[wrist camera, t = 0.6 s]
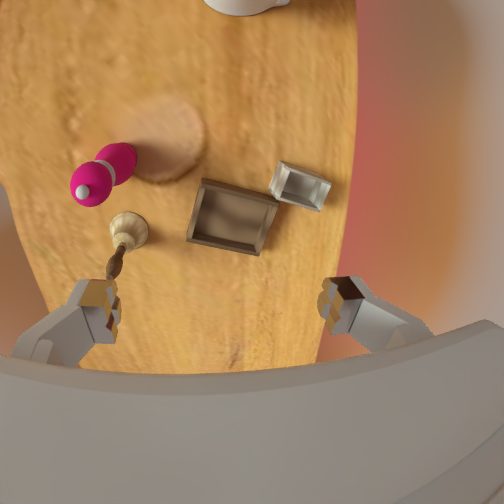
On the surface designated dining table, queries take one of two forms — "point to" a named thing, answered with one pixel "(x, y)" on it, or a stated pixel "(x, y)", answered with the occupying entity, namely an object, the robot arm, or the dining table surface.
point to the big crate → (231, 217)
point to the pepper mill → (103, 174)
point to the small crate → (299, 186)
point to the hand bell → (125, 239)
